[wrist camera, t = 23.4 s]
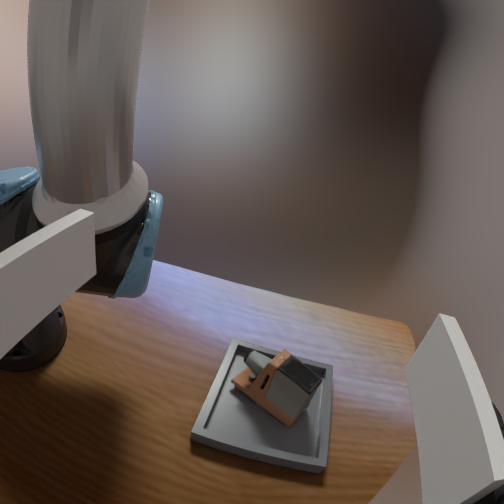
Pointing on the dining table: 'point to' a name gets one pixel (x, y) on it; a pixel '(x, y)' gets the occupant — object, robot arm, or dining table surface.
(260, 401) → the electronic device
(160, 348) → the dining table surface
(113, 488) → the dining table surface
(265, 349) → the dock tray
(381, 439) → the dining table surface
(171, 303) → the dining table surface
